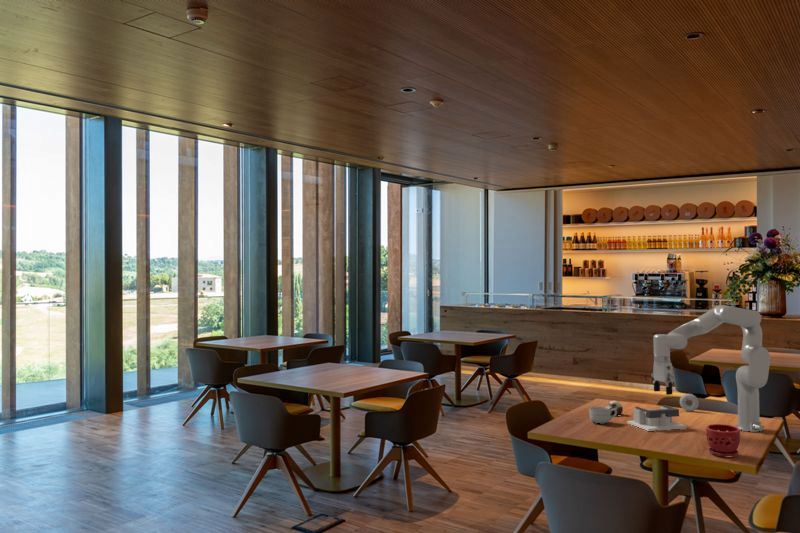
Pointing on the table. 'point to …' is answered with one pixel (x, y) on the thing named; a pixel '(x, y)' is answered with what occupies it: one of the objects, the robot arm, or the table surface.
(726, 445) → the plant pot
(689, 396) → the donut
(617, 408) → the skull
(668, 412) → the glasses
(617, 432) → the table surface
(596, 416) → the teacup
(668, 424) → the white block structure
